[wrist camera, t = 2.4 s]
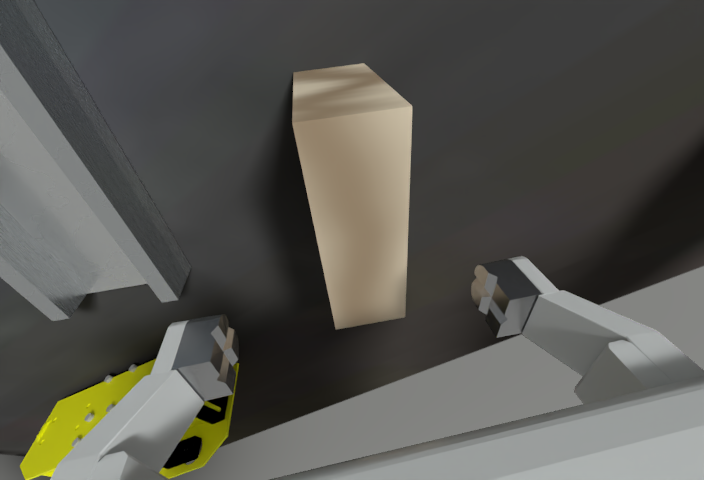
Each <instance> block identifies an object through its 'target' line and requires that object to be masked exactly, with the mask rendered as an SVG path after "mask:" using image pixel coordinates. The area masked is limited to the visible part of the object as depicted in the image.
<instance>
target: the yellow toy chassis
mask: <svg viewBox="0 0 704 480" xmlns="http://www.w3.org/2000/svg"><path fill="white" fill-rule="evenodd" d="M155 361H156V359H154V360H152V361H150V362H147V363H145V364H143V365H140V366H136V365H134V364H133V365H131V366H130V368H129V371H127V372H124V373H122V374H120V375H118V376H115V377H113V376H110V375H108V376H107V377H106V378H105V380H104V382H102V383H99V384H97V385H95V386H92V387H90V388H88V389H86V390H83V391H81V392H79V393H76V394H74V395H72V396H70V397H67V398H65V399H63V400H60V401H58V402H57V404H56V406H55V407H54V409H53V411H52V412H51V414H50V416H49V418H48V419H47V421H46V423H45V424H44V425H43V427H42V428H41V430H40V432H39V434H38V435H37V438H36V439H35V441H34V443H33V444H32V446H31V448H30V449H29V451H28V453H27V454H26V456H25V458H24V460H23V461H22V463H21V465H20V468H21V470H22V473H23V476H24V478H25V480H30V479H33V478H35V477H38V476H40V475H44V476H49V477H52V475H53V473H54V471H55V469H56V467H57V465H58V463H59V462H60V461H61V460H62V459H63V458H64V457H65V456H66V455H67V454H68V453H69V452H70V451H71V450H72V449H73V448H74V447H75V446H76V445H77V444H78V443H79V442H80V441H81V440H82V439H83V438H84V437H85V436H86V435H87V434H88V433H89V432H90V431H91V430H92V429H93V428H94V427H95V426H96V425H97V424H98V423H99V422H100V421H101V420H102V419H103V418H104V417H105V416H106V415H107V414H108V413H109V412H110V411H111V410H112V409H113V408H114V407H115V406H116V405H117V404H118V403H119V402H120V400H121V399H122V398H123V397H124V396H125V395H126V394H127V393H128V392H129V391H130V390H131V389H132V388H133V387H134V386H135V385H136V384H137V383H138V382H139V381H140V380H141V379H142V378H143V377H144V376H147V375H150V374H151V371H152V369H153V366H154V363H155ZM233 368H234V370H235V371H236V379H235V386H234V393H233V394H232V395H228V396H224V397H220V398H216V399H211V400H207V401H204V405H203V406H202V408H201V409H200V411H199V412H198V414H197V415H196V417H195V418H194V420H193V422H192V423H191V425H190V426H189V428H188V429H187V431H186V432H185V434H184V435H183V437H182V438H181V440H180V442H179V443H178V445H177V446H176V448H175V449H174V451H173V452H172V454H171V455H170V457H169V458H168V460H167V461H166V463H165V465H164V466H163V468H162V469H161V471H160V472H159V473H160V474H162V475H163V476H165V477H166V478H168V479H170V478H173V477H176V476H178V475H181V474H184V473H187V472H190V471H192V470H195V469H198V468H201V467H203V466H205V464H206V463H207V462H208V460H209V459H210V458H211V457H212V455H213V454H214V453H215V452H216V450H217V449H218V448H219V447H220V445H221V444H222V443H223V442H224V440H225V439H226V438H227V437H228V433H229V426H230V420H231V414H232V407H233V401H234V394H235V388H236V381H237V375H238V369H239V363H236V364H234V365H233ZM201 440H202V449H201V452H200V454H199V450H200V445H201ZM198 454H199V456H198ZM195 459H196V460H195ZM192 460H195V461H194V462H193V463H191V464H190V465H186V463H187V462H189V461H192Z"/></svg>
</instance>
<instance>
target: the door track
mask: <svg viewBox="0 0 704 480" xmlns="http://www.w3.org/2000/svg"><path fill="white" fill-rule="evenodd" d="M190 269H191V265H190V264H189V262H188V260H187V259H186V257H185V255H184V253H183V252H182V250H181V248H180V247H179V245H178V243H177V242H176V240H175V238H174V237H173V235H172V233H171V232H170V230H169V228H168V226H167V225H166V223H165V221H164V220H163V218H162V216H161V215H160V213H159V211H158V210H157V208H156V206H155V205H154V203H153V201H152V200H151V198H150V196H149V194H148V193H147V191H146V189H145V188H144V186H143V184H142V183H141V181H140V179H139V178H138V176H137V174H136V173H135V171H134V169H133V167H132V166H131V164H130V162H129V161H128V159H127V157H126V156H125V154H124V152H123V151H122V149H121V147H120V146H119V144H118V142H117V140H116V139H115V137H114V135H113V134H112V132H111V130H110V129H109V127H108V125H107V124H106V122H105V120H104V119H103V117H102V115H101V114H100V112H99V110H98V108H97V107H96V105H95V103H94V102H93V100H92V98H91V97H90V95H89V93H88V92H87V90H86V88H85V87H84V85H83V83H82V81H81V80H80V78H79V76H78V75H77V73H76V71H75V70H74V68H73V66H72V65H71V63H70V61H69V60H68V58H67V56H66V55H65V53H64V51H63V49H62V48H61V46H60V44H59V43H58V41H57V39H56V38H55V36H54V34H53V33H52V31H51V29H50V28H49V26H48V24H47V22H46V21H45V19H44V17H43V16H42V14H41V12H40V11H39V9H38V7H37V6H36V4H35V2H34V1H33V0H0V277H1V278H2V279H3V280H4V281H6V282H7V283H8V284H9V285H10V286H12V287H13V288H14V289H15V290H16V291H18V292H19V293H20V294H21V295H22V296H23V297H25V298H26V299H27V300H28V301H29V302H31V303H32V304H33V305H34V306H35V307H36V308H38V309H39V310H40V311H41V312H42V313H44V314H45V315H46V316H47V317H48V318H50V319H51V320H52V321H56V320H62V319H68V318H70V317H71V316H72V314H73V313H74V312H75V310H76V309H77V307H78V306H79V305H80V303H81V302H82V300H83V299H84V298H85V296H86V295H87V294H88V293H94V292H100V291H106V290H112V289H118V288H124V287H130V286H136V285H142V284H148V285H149V286H150V287H151V289H152V290H153V291H154V293H155V294H156V295H157V297H158V298H159V299H160V301H161V302H162V303H163V302H168V301H174V300H179V297H180V295H181V292H182V290H183V287H184V284H185V282H186V279H187V277H188V274H189V272H190Z"/></svg>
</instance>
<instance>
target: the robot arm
mask: <svg viewBox="0 0 704 480" xmlns="http://www.w3.org/2000/svg"><path fill="white" fill-rule="evenodd" d="M474 274H475V275H476V277H477V278H476V279H475V280H474V282H473V283H472V287H471V294H472V299H473V301H474V304H475V305H476V307H477V308H478V310H479V311H481V312H483V313H485V314H486V320H485V321H486V322H487V324H488V325H489V327H490V329H491V330H492V332H493V333H494V335H495V336H496V338H498V337H503V336H509V335H514V334H519V333H522V335H523V336H525V337H526V338H528V339H529V340H531V341H532V342H534V343H535V344H536V345H538V346H539V347H541V348H542V349H544V350H545V351H547V352H548V353H550V354H551V355H553V356H554V357H555V358H557V359H558V360H560V361H561V362H563V363H564V364H566V365H567V366H569V367H570V368H571V369H573V370H574V371H576V372H577V373H579V374H580V375H582V376H583V377H582V379H581V380H580V381H579V383H578V384H577V385H576V386H575V391H574V392H575V393H576V395H577V396H578V397H579V399H580V400H581V401H582V403H583V405H579V406H575V407H571V408H566V409H562V410H558V411H554V412H549V413H546V414H541V415H537V416H533V417H528V418H524V419H521V420H516V421H512V422H508V423H503V424H499V425H495V426H491V427H487V428H483V429H479V430H474V431H470V432H466V433H462V434H458V435H454V436H449V437H445V438H441V439H437V440H433V441H429V442H425V443H421V444H416V445H412V446H408V447H403V448H400V449H395V450H391V451H387V452H383V453H379V454H375V455H370V456H366V457H362V458H358V459H353V460H350V461H345V462H341V463H337V464H333V465H328V466H325V467H320V468H316V469H312V470H308V471H303V472H300V473H295V474H291V475H287V476H283V477H279V478H274V479H270V480H704V370H703V369H701V368H700V367H699V366H698V365H697V364H696V363H694V362H693V361H692V360H691V359H690V358H689V357H687V356H686V355H685V354H684V353H683V352H682V351H680V350H679V349H678V348H677V347H676V346H675V345H673V344H672V343H671V342H670V341H669V340H668V339H667V338H665V337H664V336H663V335H662V334H661V333H659V332H658V331H657V330H655V329H652V328H650V327H648V326H645V325H643V324H641V323H638V322H636V321H634V320H631V319H629V318H627V317H625V316H622V315H620V314H617V313H615V312H613V311H611V310H608V309H606V308H604V307H601V306H599V305H597V304H595V303H592V302H590V301H588V300H585V299H583V298H581V297H578V296H576V295H574V294H572V293H569V292H567V291H565V290H562V291H559V290H558V289H557V288H556V287H555V286H554V285H553V284H552V283H551V282H550V281H549V280H548V279H547V278H546V277H545V276H544V275H543V274H542V273H541V272H540V271H539V270H538V269H537V268H536V267H535V266H534V265H533V264H532V263H531V262H530V261H529V260H528V259H527V258H526V257H524V256H520V257H515V258H510V259H504V260H499V261H494V262H489V263H484V264H479V265H478V266H477V267H476V269H475V273H474ZM228 326H229V319H228V318H227V316H226V315H225V314H221V315H215V316H209V317H203V318H197V319H191V320H187V321H181V322H175V323H172V324H171V325H170V326H169V327H168V329H167V332H166V334H165V337H164V339H163V342H162V345H161V347H160V350H159V353H158V355H157V358H156V361H155V363H154V366H153V369H152V371H151V374H150V375H147V376H144V377H143V378H142V379H141V380H140V381H139V382H138V383H137V384H136V385H135V386H134V387H133V388H132V389H131V390H130V391H129V392H128V393H127V394H126V395H125V396H124V397H123V398H122V399H121V400H120V402H119V403H118V404H117V405H116V406H115V407H114V408H113V409H112V410H111V411H110V412H109V413H108V414H107V415H106V416H105V417H104V418H103V419H102V420H101V421H100V422H99V423H98V424H97V425H96V426H95V427H94V428H93V429H92V430H91V431H90V432H89V433H88V434H87V435H86V436H85V437H84V438H83V439H82V440H81V441H80V442H79V443H78V444H77V445H76V446H75V447H74V448H73V449H72V450H71V451H70V452H69V453H68V454H67V455H66V456H65V457H64V458H63V459H62V460H61V461H60V462H59V463H58V465H57V467H56V469H55V471H54V473H53V475H52V477H51V479H50V480H169V479H168V478H166V477H165V476H163V475H162V474H160V473H159V472H160V471H161V469H162V468H163V466H164V465H165V463H166V461H167V460H168V458H169V457H170V455H171V454H172V452H173V451H174V449H175V448H176V446H177V445H178V443H179V442H180V440H181V438H182V437H183V435H184V434H185V432H186V431H187V429H188V428H189V426H190V425H191V423H192V422H193V420H194V418H195V417H196V415H197V414H198V412H199V411H200V409H201V408H202V406H203V405H204V401H207V400H211V399H216V398H220V397H224V396H228V395H232V394H233V393H234V386H235V379H236V371H235V370H234V368H233V365H234V364H235V363H236V361H237V360H238V357H239V341H238V337H237V334H236V332H235V330H234V329H231V328H229V327H228Z"/></svg>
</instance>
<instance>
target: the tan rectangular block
mask: <svg viewBox="0 0 704 480" xmlns="http://www.w3.org/2000/svg"><path fill="white" fill-rule="evenodd" d="M292 124H293V129H294V134H295V139H296V143H297V148H298V153H299V158H300V162H301V167H302V172H303V177H304V181H305V186H306V191H307V196H308V200H309V205H310V210H311V215H312V219H313V224H314V229H315V234H316V238H317V243H318V248H319V253H320V257H321V262H322V267H323V271H324V276H325V281H326V286H327V290H328V295H329V300H330V305H331V309H332V314H333V319H334V324H335V328H336V330H337V329H342V328H348V327H354V326H359V325H365V324H370V323H376V322H381V321H387V320H392V319H398V318H403V317H405V305H406V277H407V248H408V219H409V191H410V162H411V134H412V105H411V104H409V103H408V102H407V101H406V100H405V99H404V98H403V97H402V96H400V95H399V94H398V93H397V92H396V91H395V90H394V89H392V88H391V87H390V86H389V85H388V84H387V83H386V82H385V81H383V80H382V79H381V78H380V77H379V76H378V75H377V74H375V73H374V72H373V71H372V70H371V69H370V68H369V67H367V66H366V65H365V64H364V63H363V64H355V65H347V66H340V67H332V68H324V69H316V70H309V71H301V72H294V73H293V111H292Z"/></svg>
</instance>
